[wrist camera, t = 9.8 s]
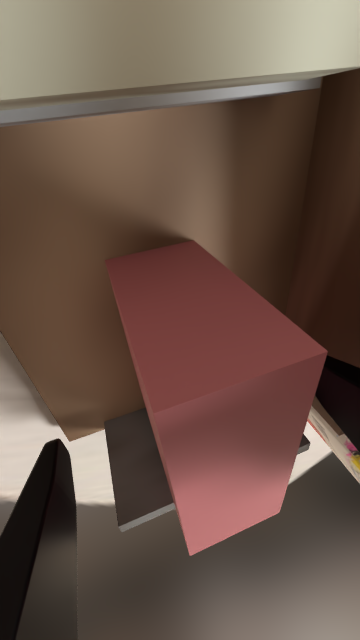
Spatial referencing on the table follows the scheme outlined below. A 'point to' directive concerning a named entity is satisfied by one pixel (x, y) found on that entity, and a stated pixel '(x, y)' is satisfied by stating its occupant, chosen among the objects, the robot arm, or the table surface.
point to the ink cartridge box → (337, 443)
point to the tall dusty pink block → (215, 385)
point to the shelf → (171, 187)
